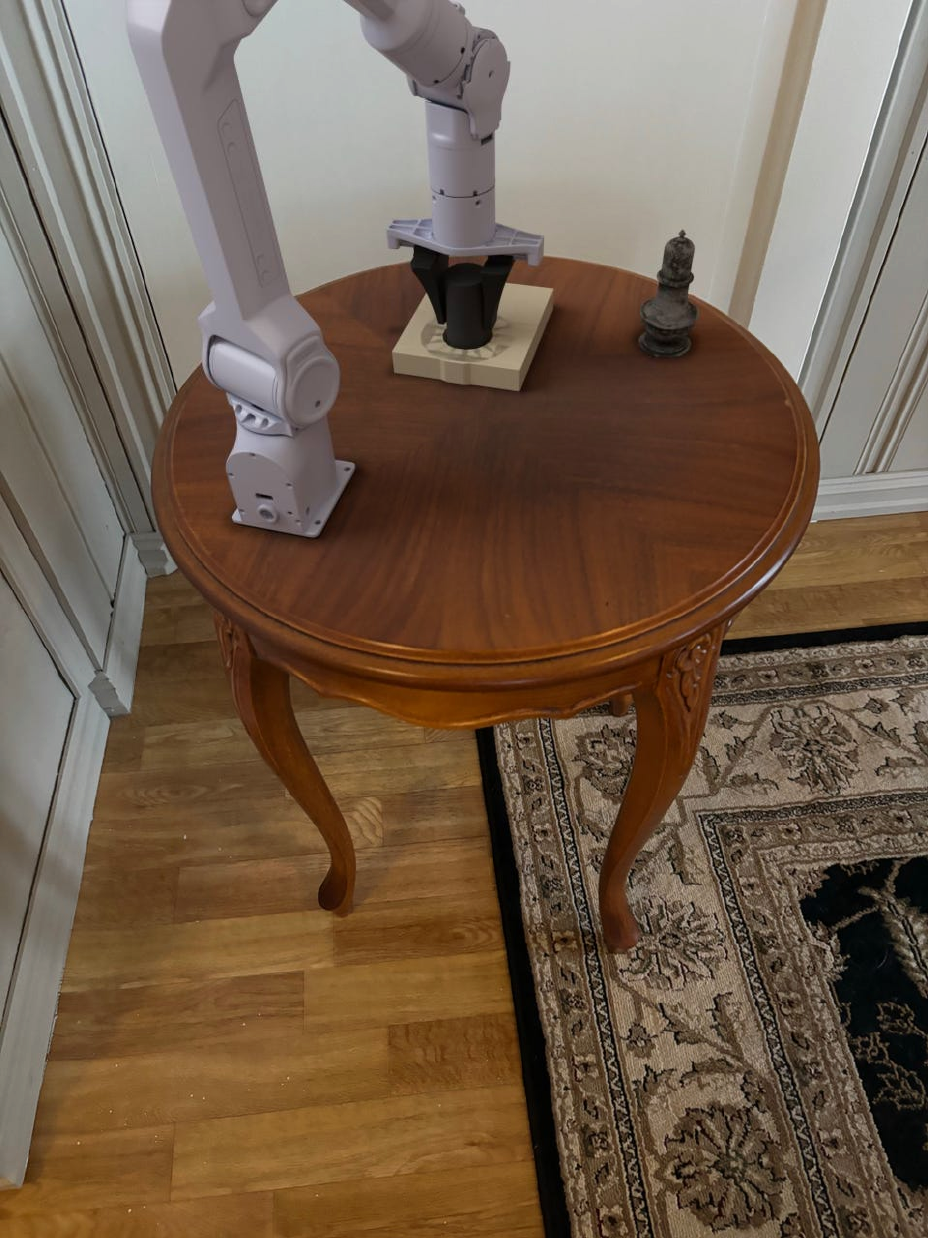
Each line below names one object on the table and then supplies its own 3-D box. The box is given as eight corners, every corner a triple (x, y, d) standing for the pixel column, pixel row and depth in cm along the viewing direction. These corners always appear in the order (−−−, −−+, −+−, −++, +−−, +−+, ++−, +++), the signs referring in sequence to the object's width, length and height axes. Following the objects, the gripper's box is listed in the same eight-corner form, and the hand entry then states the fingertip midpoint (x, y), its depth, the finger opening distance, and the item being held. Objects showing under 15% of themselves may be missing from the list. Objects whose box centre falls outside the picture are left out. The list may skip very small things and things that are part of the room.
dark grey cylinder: (482, 353, 88) (481, 287, 82) (441, 347, 89) (437, 282, 83) (493, 330, 90) (492, 265, 85) (453, 324, 91) (450, 260, 86)
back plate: (518, 393, 87) (519, 371, 85) (393, 374, 89) (390, 352, 87) (552, 309, 96) (554, 288, 94) (438, 294, 99) (437, 273, 97)
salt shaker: (625, 348, 91) (639, 234, 82) (651, 320, 94) (668, 208, 85) (677, 366, 89) (698, 251, 79) (703, 337, 92) (726, 224, 82)
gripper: (554, 170, 78) (547, 309, 89) (398, 155, 81) (410, 291, 92) (535, 207, 74) (531, 349, 85) (372, 190, 77) (388, 329, 88)
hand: (467, 322), depth 88 cm, fingers closed on dark grey cylinder, 4 cm apart
